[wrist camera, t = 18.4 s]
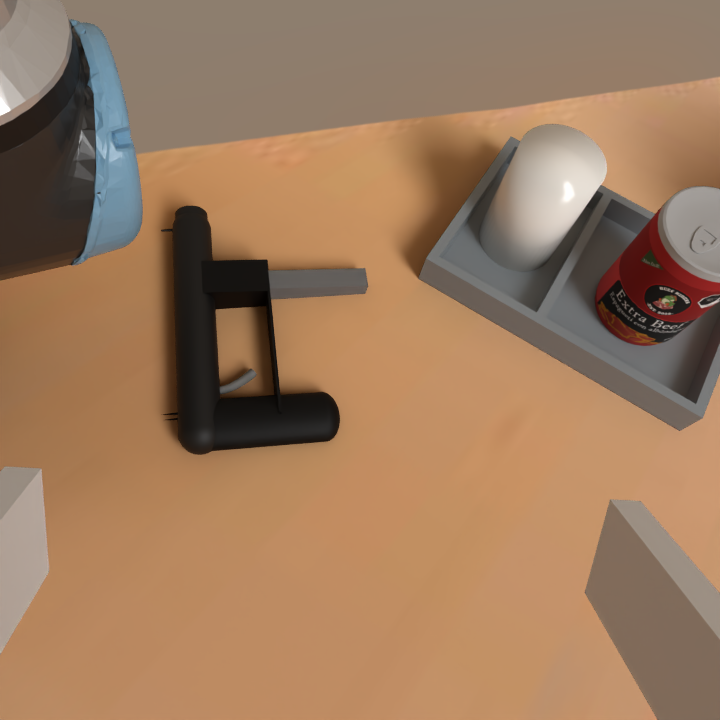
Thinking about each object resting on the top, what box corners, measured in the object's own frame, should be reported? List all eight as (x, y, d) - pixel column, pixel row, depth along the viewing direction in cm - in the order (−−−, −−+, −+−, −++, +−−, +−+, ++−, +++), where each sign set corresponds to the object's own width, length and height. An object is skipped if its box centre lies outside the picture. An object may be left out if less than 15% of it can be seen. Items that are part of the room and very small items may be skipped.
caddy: (418, 278, 54) (426, 258, 51) (500, 159, 60) (510, 136, 58) (679, 430, 51) (702, 418, 48) (735, 288, 57) (758, 270, 54)
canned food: (578, 320, 53) (647, 242, 43) (610, 252, 56) (682, 166, 46) (663, 366, 52) (754, 298, 42) (691, 295, 55) (781, 216, 45)
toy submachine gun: (356, 203, 54) (155, 203, 50) (395, 431, 46) (159, 450, 42) (350, 227, 57) (160, 228, 53) (385, 445, 49) (164, 464, 45)
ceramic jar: (466, 246, 55) (503, 165, 46) (499, 196, 57) (541, 110, 48) (534, 285, 54) (586, 210, 45) (564, 232, 56) (619, 152, 47)
